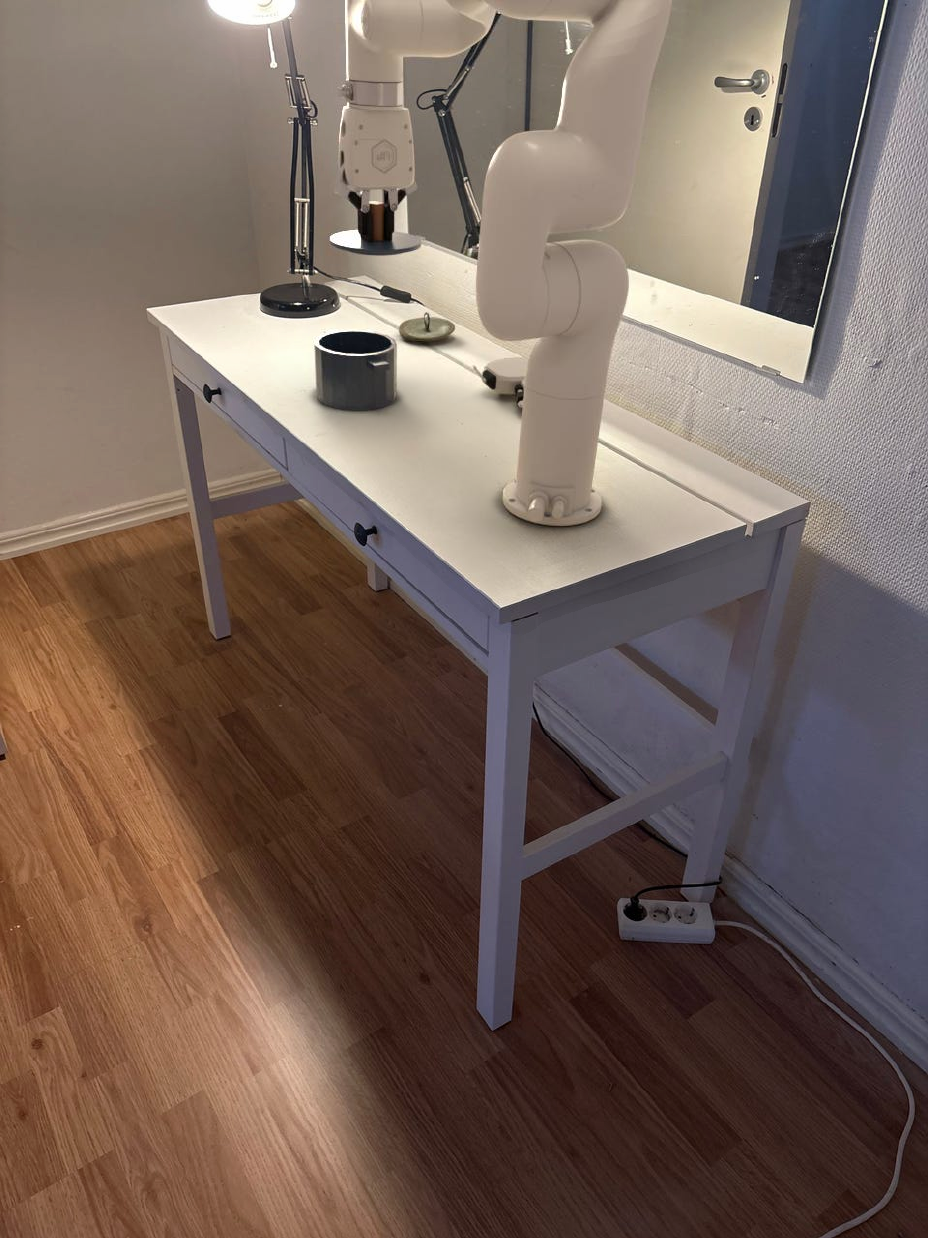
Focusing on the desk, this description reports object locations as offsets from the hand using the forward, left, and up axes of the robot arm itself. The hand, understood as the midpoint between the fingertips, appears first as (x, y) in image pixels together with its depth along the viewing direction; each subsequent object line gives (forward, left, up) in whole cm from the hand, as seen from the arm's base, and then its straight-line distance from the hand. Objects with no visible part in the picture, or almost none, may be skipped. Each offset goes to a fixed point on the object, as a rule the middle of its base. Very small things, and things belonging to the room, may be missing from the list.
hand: (376, 238), depth 135 cm
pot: (-4, +2, -23) cm, 23 cm away
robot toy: (+3, -24, -23) cm, 33 cm away
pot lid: (0, 0, -1) cm, 1 cm away
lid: (+29, -2, -23) cm, 37 cm away
